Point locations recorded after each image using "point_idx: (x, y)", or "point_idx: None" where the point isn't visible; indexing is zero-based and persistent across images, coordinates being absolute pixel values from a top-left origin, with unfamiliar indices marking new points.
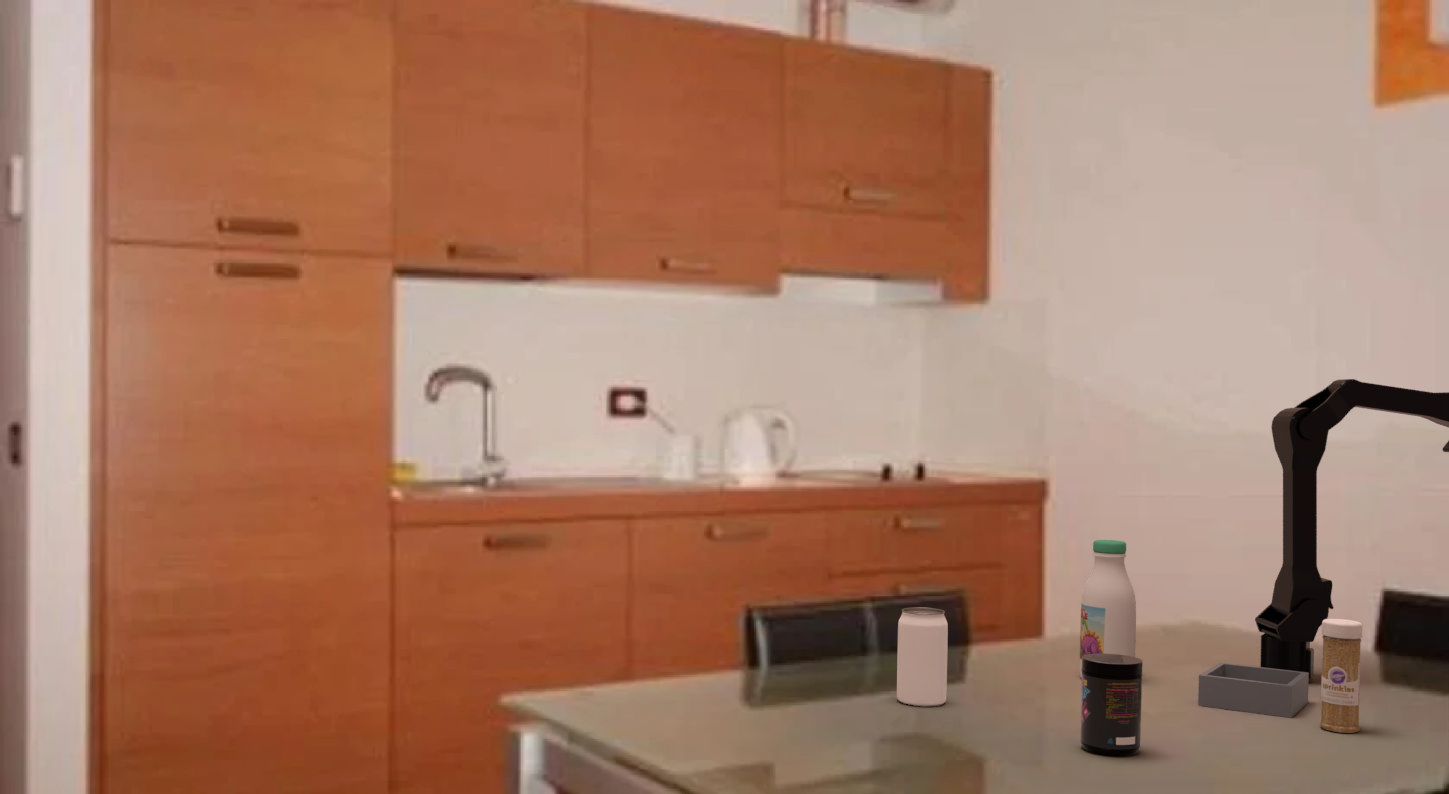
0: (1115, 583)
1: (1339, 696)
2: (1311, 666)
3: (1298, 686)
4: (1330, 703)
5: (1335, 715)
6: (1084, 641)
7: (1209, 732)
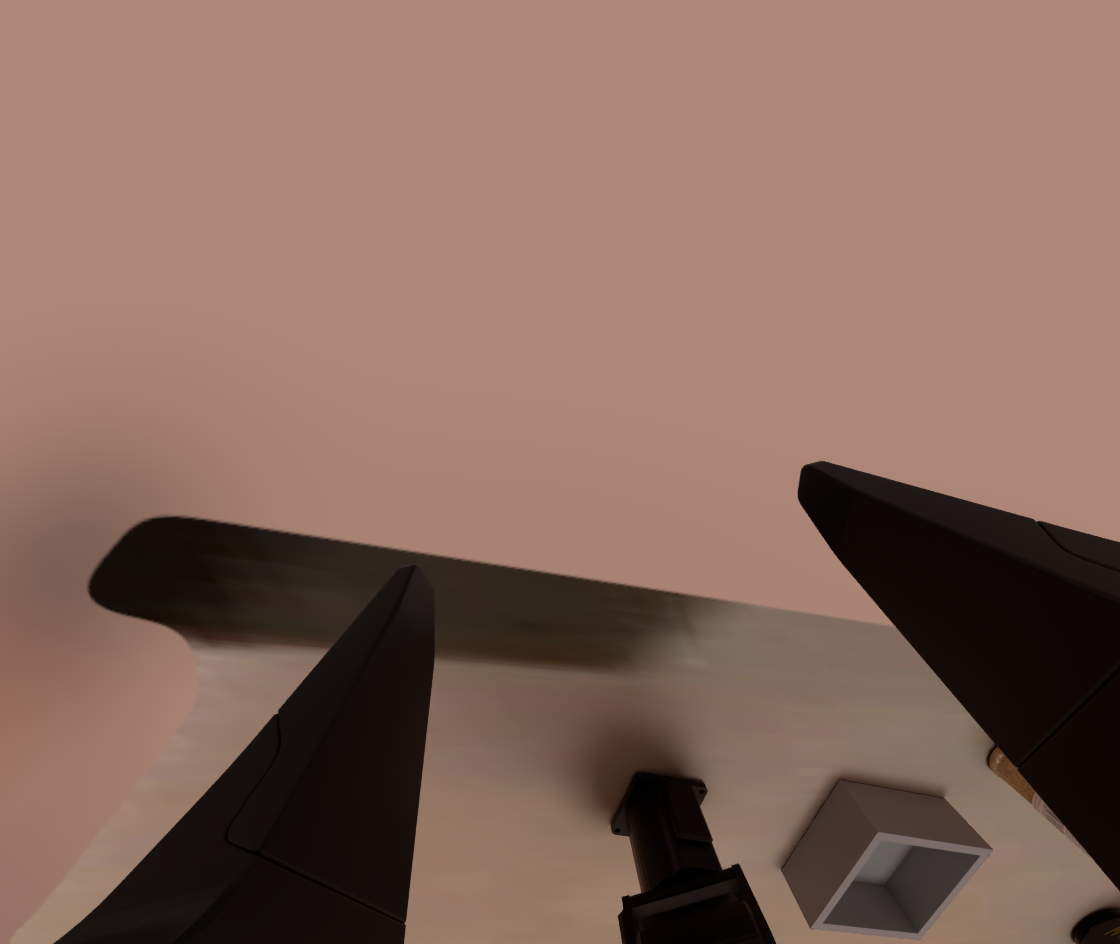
0: None
1: None
2: (692, 803)
3: (942, 833)
4: None
5: None
6: None
7: (1024, 865)
